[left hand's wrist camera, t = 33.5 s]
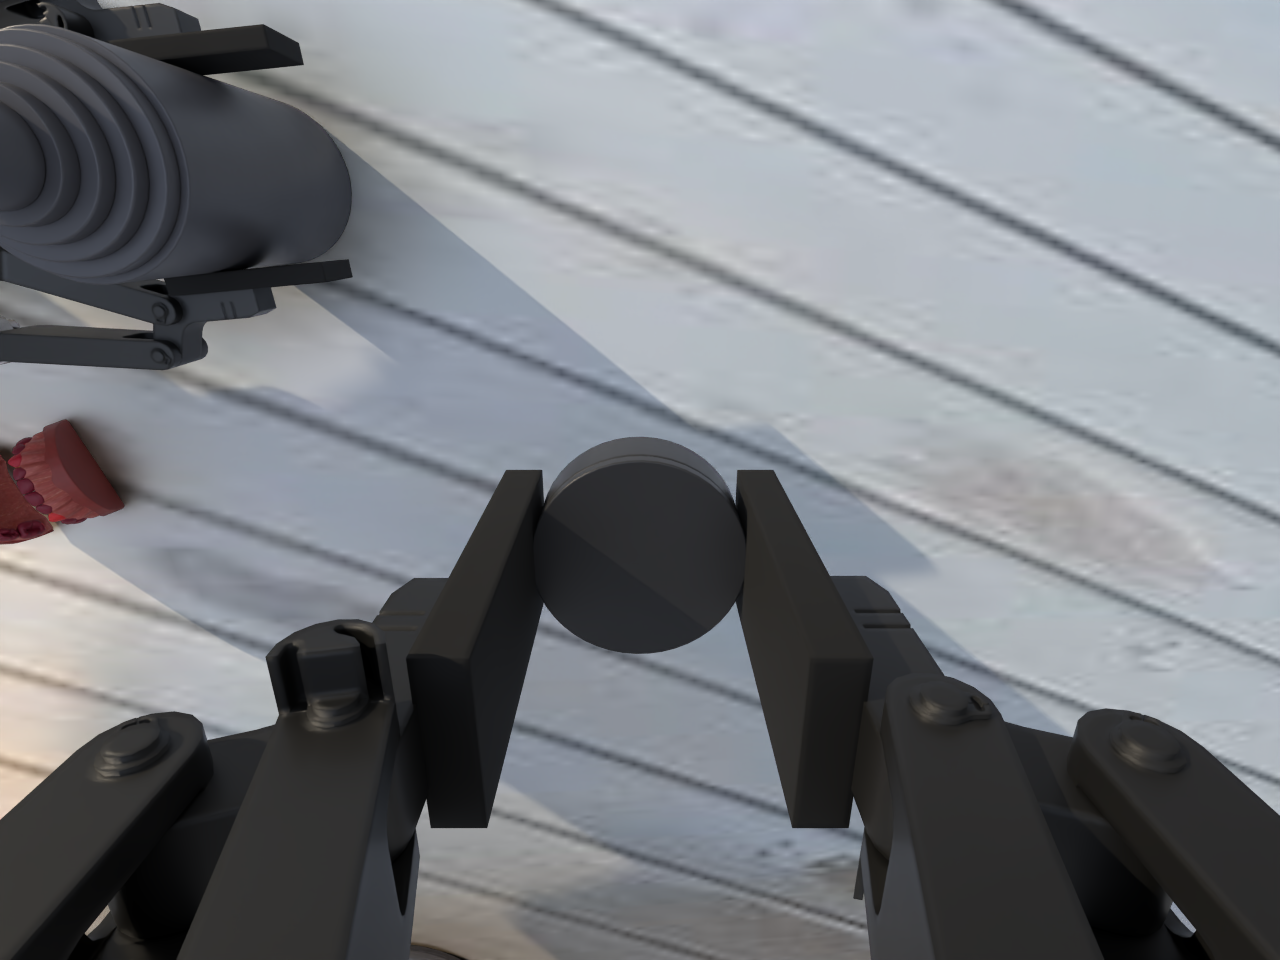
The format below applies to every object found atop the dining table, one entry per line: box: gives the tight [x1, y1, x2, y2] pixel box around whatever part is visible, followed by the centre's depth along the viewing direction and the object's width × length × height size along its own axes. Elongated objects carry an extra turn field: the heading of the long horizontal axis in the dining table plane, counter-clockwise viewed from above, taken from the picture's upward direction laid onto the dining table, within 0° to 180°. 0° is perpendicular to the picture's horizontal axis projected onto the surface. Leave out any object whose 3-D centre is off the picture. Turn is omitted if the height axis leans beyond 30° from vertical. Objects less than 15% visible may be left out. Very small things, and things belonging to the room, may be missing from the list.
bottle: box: [0, 24, 351, 285], centre depth 25 cm, size 7×7×18 cm
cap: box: [533, 437, 746, 654], centre depth 14 cm, size 4×4×2 cm
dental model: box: [0, 420, 124, 544], centre depth 37 cm, size 6×4×8 cm
